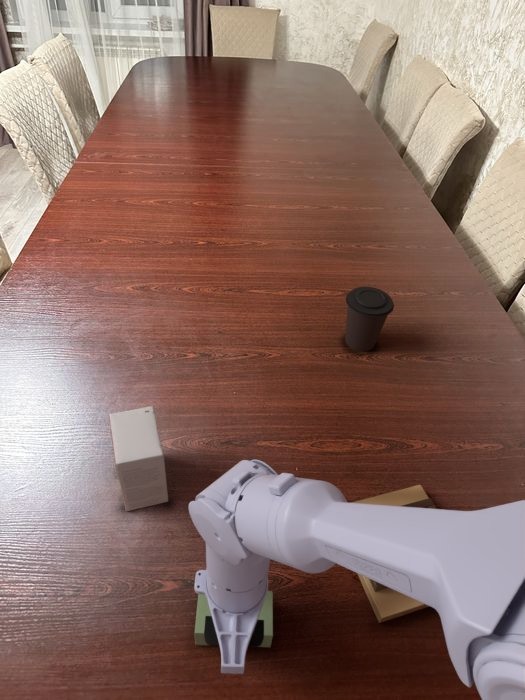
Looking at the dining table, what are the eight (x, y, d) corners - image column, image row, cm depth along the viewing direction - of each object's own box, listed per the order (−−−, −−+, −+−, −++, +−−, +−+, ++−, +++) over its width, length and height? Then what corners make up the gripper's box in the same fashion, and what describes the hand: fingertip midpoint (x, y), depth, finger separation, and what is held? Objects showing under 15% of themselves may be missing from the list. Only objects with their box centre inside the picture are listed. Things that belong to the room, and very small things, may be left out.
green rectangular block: (270, 647, 56) (272, 635, 53) (195, 645, 55) (194, 633, 53) (270, 603, 59) (272, 590, 57) (199, 601, 59) (198, 588, 56)
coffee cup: (391, 344, 93) (405, 299, 86) (362, 363, 89) (374, 318, 82) (357, 321, 97) (368, 276, 91) (328, 338, 93) (336, 293, 86)
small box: (118, 462, 71) (107, 412, 64) (159, 453, 73) (153, 403, 66) (125, 513, 66) (114, 465, 59) (169, 503, 67) (163, 454, 60)
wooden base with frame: (477, 590, 61) (485, 580, 60) (379, 623, 58) (384, 613, 56) (417, 490, 71) (423, 479, 69) (330, 513, 68) (333, 502, 66)
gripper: (201, 488, 52) (203, 552, 61) (183, 647, 42) (189, 695, 51) (271, 491, 52) (263, 554, 62) (272, 650, 42) (262, 697, 51)
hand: (234, 618), depth 56 cm, fingers closed on green rectangular block, 4 cm apart
